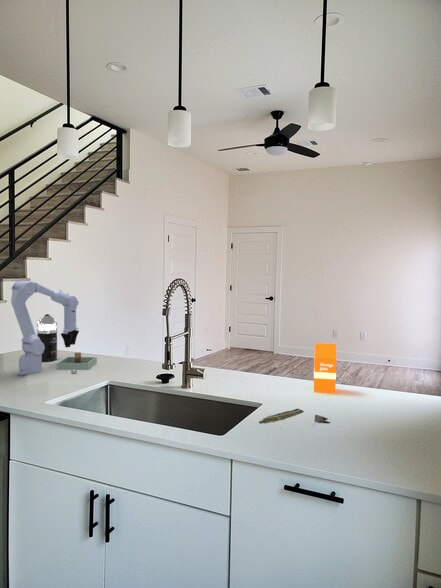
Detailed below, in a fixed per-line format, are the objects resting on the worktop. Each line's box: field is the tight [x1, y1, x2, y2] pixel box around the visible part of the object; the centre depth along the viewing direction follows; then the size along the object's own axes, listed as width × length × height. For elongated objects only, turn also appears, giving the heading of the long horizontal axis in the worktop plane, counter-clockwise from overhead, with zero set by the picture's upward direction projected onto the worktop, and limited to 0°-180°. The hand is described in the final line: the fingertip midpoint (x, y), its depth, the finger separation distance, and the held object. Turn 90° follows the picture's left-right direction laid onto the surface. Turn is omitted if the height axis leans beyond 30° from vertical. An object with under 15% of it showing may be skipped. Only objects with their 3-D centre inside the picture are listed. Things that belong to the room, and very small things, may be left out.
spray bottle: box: [36, 313, 58, 362], centre depth 230 cm, size 10×10×25 cm
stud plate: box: [70, 369, 78, 375], centre depth 198 cm, size 10×10×3 cm
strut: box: [74, 352, 83, 363], centre depth 213 cm, size 4×4×7 cm
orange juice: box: [313, 342, 337, 394], centre depth 179 cm, size 8×9×20 cm
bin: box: [56, 356, 98, 371], centre depth 213 cm, size 15×15×4 cm
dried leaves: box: [258, 408, 332, 429], centre depth 141 cm, size 25×19×2 cm
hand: (70, 345), depth 217 cm, fingers open, 7 cm apart
